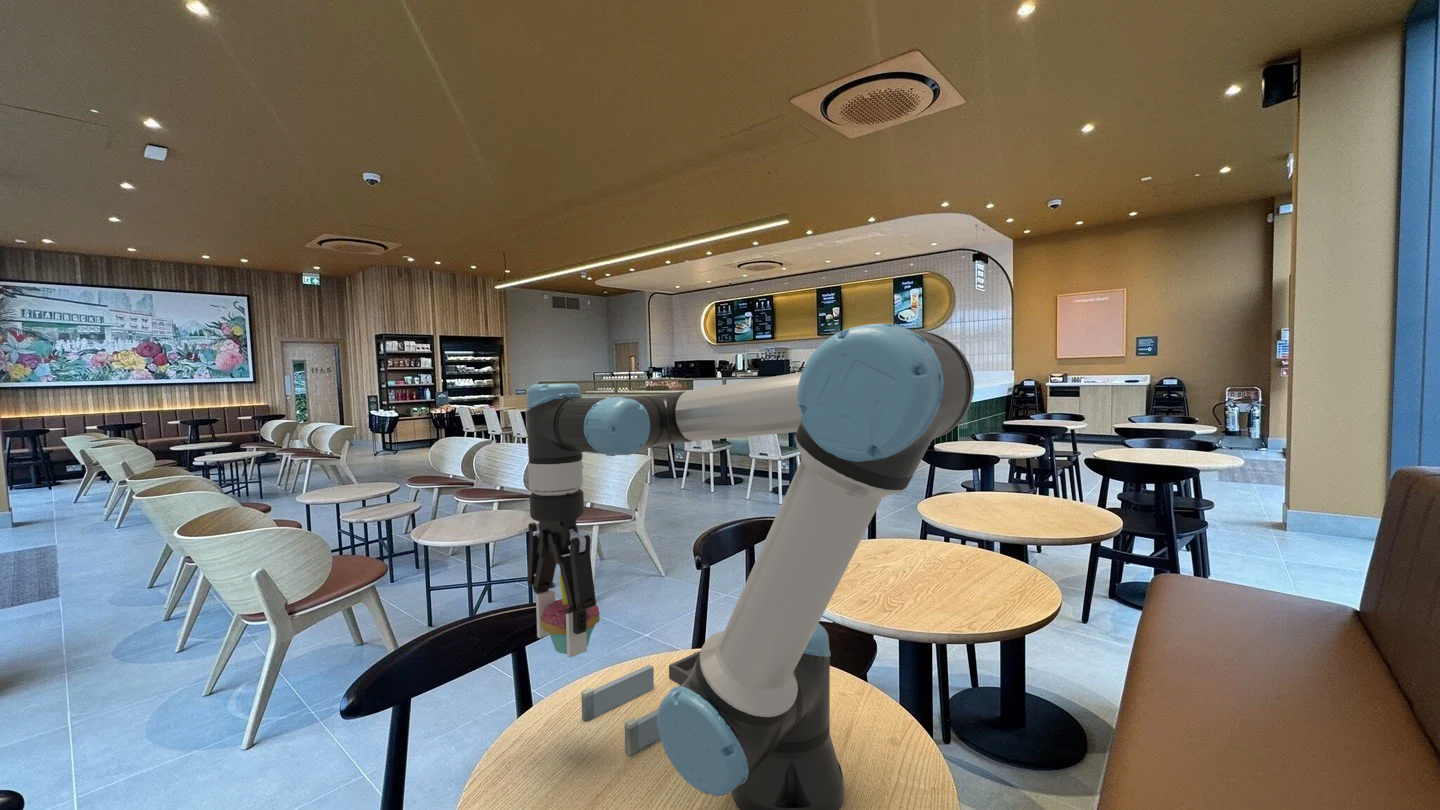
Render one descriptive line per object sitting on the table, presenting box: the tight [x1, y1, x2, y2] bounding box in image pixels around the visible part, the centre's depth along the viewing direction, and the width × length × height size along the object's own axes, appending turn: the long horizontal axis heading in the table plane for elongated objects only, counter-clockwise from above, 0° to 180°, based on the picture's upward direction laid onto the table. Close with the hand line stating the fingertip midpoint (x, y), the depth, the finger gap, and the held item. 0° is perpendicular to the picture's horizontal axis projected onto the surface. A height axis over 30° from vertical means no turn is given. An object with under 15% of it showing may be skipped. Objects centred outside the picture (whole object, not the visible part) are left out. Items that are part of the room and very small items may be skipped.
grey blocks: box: [580, 664, 661, 756], centre depth 96 cm, size 13×14×5 cm
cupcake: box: [541, 570, 601, 655], centre depth 86 cm, size 9×8×12 cm
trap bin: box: [668, 650, 701, 686], centre depth 106 cm, size 13×8×2 cm, turn 44°
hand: (561, 643), depth 85 cm, fingers closed on cupcake, 8 cm apart
